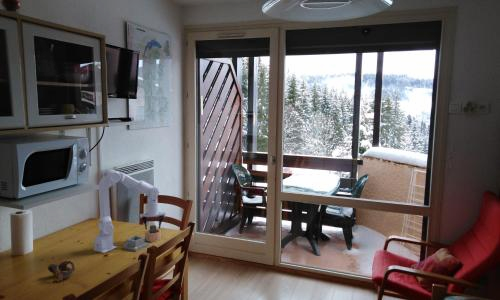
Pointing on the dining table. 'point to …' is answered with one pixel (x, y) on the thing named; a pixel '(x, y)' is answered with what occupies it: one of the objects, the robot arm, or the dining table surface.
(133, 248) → the checker housing
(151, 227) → the battery cell
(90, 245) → the dining table surface
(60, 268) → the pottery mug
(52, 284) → the dining table surface
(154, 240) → the cup
